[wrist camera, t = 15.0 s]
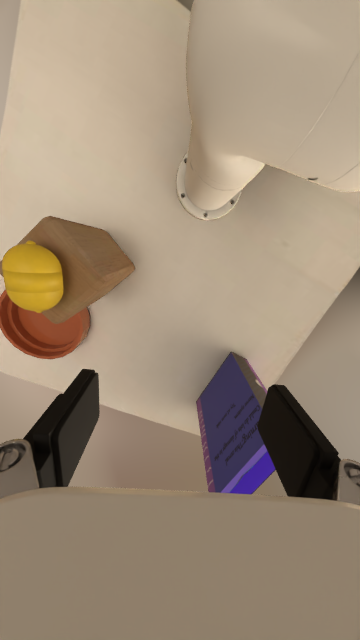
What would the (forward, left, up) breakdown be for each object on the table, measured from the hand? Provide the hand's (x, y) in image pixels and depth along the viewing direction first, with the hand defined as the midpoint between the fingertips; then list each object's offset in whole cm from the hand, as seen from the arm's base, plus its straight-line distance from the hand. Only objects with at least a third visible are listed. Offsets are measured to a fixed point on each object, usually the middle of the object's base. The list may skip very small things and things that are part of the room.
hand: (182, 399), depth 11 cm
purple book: (+24, +14, -36) cm, 46 cm away
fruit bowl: (+10, -28, -36) cm, 47 cm away
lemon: (-3, -16, -16) cm, 23 cm away
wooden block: (-3, -16, -36) cm, 40 cm away
